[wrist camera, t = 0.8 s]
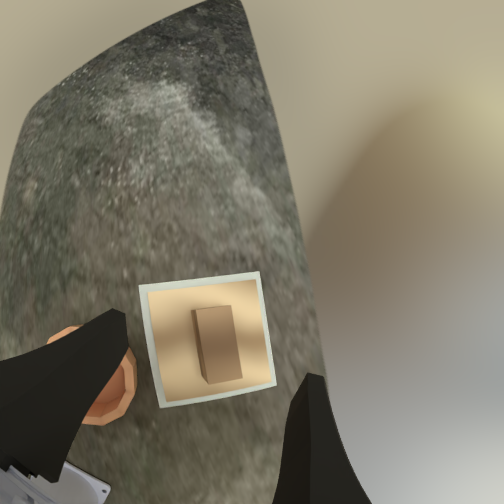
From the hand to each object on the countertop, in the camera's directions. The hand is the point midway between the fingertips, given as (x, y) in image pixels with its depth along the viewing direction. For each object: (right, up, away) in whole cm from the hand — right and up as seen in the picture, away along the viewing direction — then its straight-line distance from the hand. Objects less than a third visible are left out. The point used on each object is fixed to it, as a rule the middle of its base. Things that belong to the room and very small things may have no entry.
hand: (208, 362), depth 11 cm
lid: (-2, -4, +16) cm, 17 cm away
